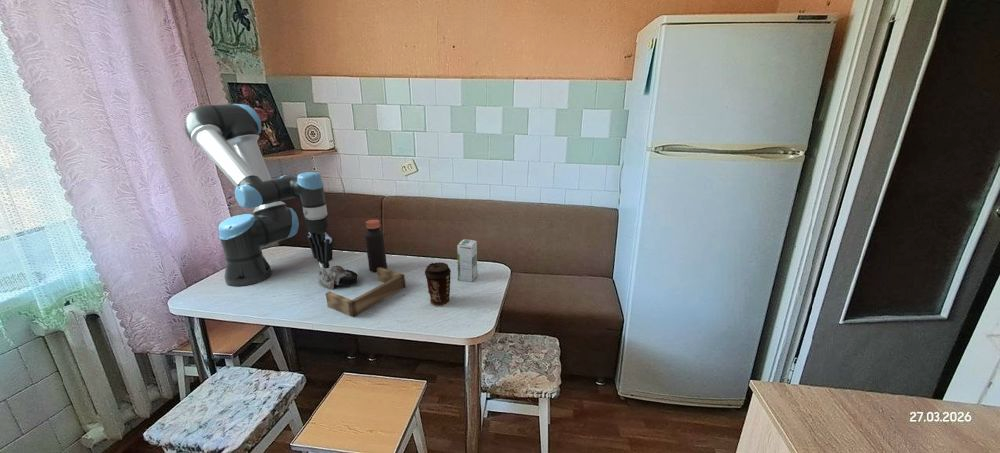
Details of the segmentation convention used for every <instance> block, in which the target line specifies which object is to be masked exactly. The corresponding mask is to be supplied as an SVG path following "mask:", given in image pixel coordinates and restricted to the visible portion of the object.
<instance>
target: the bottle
mask: <svg viewBox="0 0 1000 453" xmlns="http://www.w3.org/2000/svg"><path fill="white" fill-rule="evenodd" d="M365 226H366V229H367V231H366V233H365V234H364V237H365V238H364V239H365V247H366V248H365V249H366V255H367V262H368V270H369V271H370V273H375V274H377V268H379V267H381V268H384V269H387V268H388V262H387V256H386V247H385V246H386V245H385V244H386V243H385V237H384V232H383V231H382V230H381V229H380V228H381V227H380V226H381V223H380V220H379V219H369V220H366V221H365Z"/></svg>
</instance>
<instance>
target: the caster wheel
mask: <svg viewBox="0 0 1000 453" xmlns="http://www.w3.org/2000/svg"><path fill="white" fill-rule="evenodd" d="M358 277H359V275H358V273H357V272H356V271H354V270H349V269H345V268H344V267H342V266H341V265H333V266H332V265H331V266H329V268H327V269H325V268H323V267H320V266H319V274H318V281H317V283H318V285H320V286H323V287H325V288H328V289H330V290H334V289H335V288H334V286H346V287H347V286H353V285H356V284H357V283H358Z"/></svg>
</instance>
